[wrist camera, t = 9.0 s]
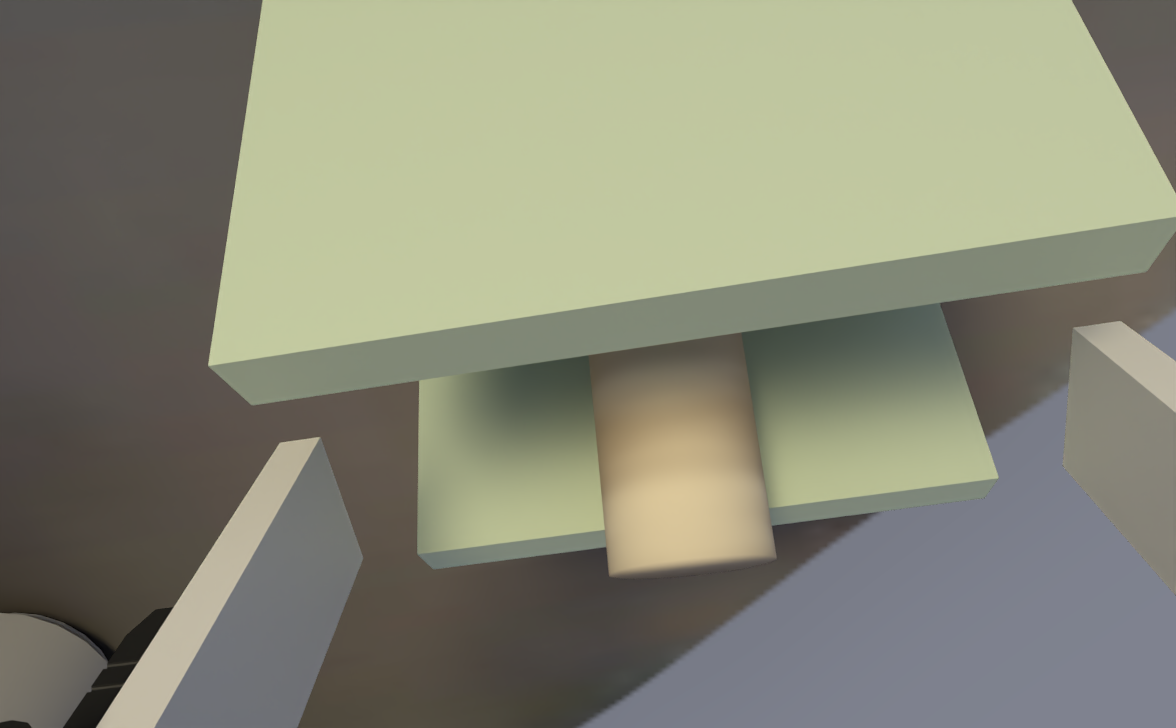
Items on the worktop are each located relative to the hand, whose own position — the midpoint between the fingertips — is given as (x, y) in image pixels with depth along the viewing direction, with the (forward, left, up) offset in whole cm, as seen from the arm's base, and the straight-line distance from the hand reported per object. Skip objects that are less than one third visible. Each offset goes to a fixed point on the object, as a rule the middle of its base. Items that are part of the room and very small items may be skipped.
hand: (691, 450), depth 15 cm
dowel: (-6, 0, -9) cm, 10 cm away
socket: (-4, 0, -13) cm, 13 cm away
